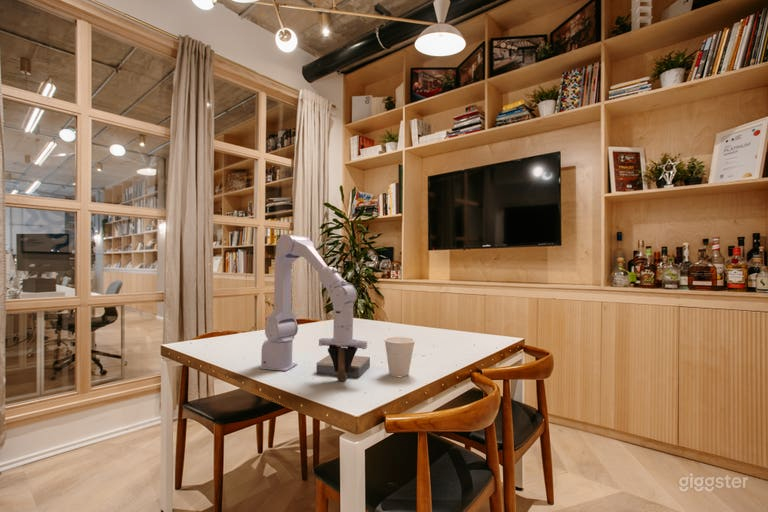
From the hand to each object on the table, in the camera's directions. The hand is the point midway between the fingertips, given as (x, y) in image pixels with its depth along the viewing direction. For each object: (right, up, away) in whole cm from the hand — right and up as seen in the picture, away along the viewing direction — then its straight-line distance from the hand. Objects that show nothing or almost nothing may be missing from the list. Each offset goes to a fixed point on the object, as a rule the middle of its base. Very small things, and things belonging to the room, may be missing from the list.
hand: (342, 371), depth 111 cm
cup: (+17, -3, +7) cm, 19 cm away
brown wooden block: (0, -2, 0) cm, 2 cm away
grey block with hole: (-1, -3, +10) cm, 11 cm away
